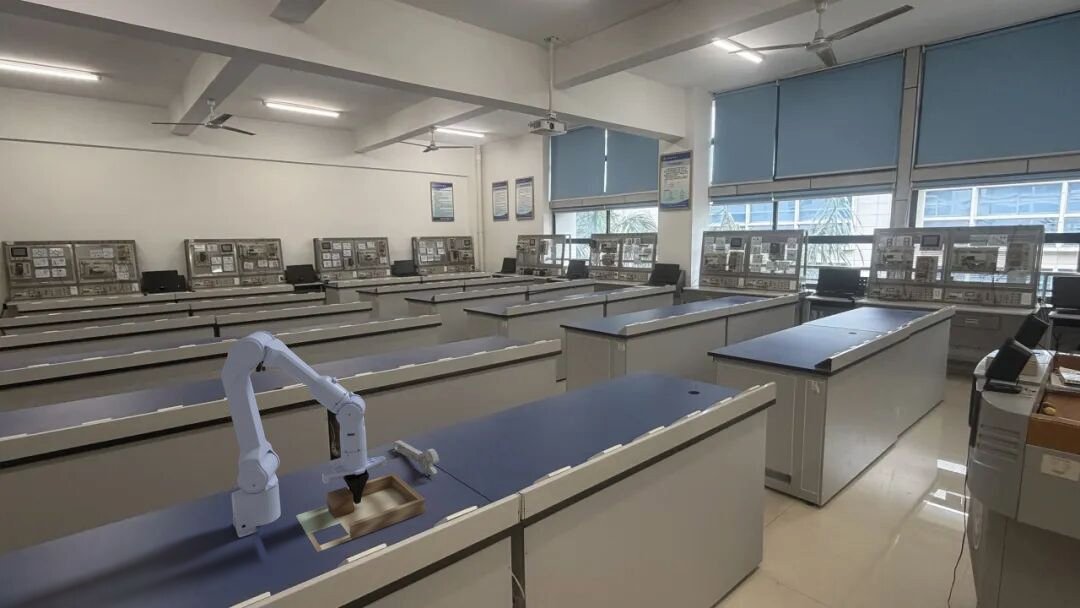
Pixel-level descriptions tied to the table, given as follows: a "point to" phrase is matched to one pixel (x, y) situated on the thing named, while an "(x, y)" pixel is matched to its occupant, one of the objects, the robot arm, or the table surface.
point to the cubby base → (367, 510)
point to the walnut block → (340, 502)
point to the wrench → (419, 456)
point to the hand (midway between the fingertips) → (356, 502)
